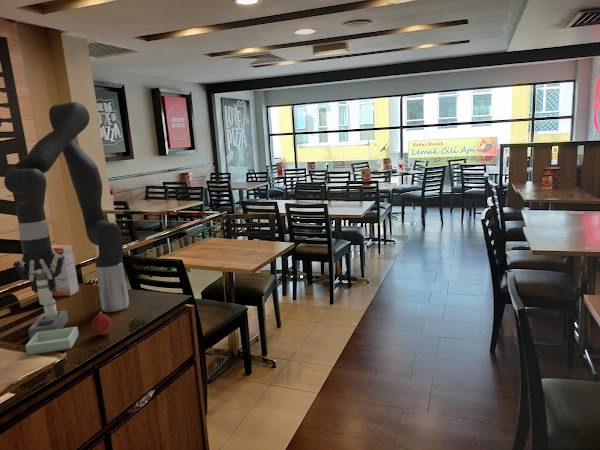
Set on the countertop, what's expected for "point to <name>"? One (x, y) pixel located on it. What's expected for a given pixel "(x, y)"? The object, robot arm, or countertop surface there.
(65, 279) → the cracker box
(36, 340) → the parts tray
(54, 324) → the block
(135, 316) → the countertop surface
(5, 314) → the countertop surface
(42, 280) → the cylinder
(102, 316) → the onion
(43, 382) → the countertop surface
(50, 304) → the ball
